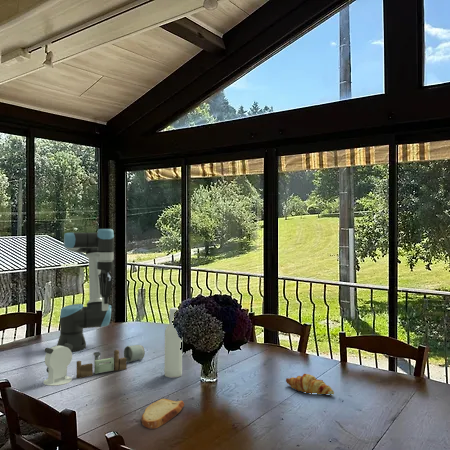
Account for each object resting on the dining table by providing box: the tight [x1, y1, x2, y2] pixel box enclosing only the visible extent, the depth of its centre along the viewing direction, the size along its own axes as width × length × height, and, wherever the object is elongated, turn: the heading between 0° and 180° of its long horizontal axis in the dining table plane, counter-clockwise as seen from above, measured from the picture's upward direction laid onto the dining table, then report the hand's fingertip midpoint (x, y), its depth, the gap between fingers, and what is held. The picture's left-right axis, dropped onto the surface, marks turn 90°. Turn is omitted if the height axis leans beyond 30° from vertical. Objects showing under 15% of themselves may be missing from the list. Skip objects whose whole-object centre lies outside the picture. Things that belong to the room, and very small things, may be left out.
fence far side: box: [76, 360, 94, 379], centre depth 197 cm, size 2×7×7 cm, turn 124°
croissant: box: [285, 373, 335, 395], centre depth 182 cm, size 21×10×8 cm, turn 56°
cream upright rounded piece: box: [43, 343, 73, 387], centre depth 191 cm, size 12×11×15 cm
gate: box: [93, 356, 114, 375], centre depth 202 cm, size 8×2×6 cm, turn 125°
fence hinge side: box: [113, 349, 127, 372], centre depth 206 cm, size 2×6×10 cm, turn 125°
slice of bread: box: [140, 398, 185, 429], centre depth 158 cm, size 18×18×4 cm
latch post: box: [93, 351, 101, 361], centre depth 202 cm, size 2×2×9 cm
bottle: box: [163, 307, 183, 379], centre depth 200 cm, size 8×8×30 cm
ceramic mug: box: [123, 344, 145, 363], centre depth 222 cm, size 11×8×8 cm
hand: (105, 310), depth 212 cm, fingers closed
